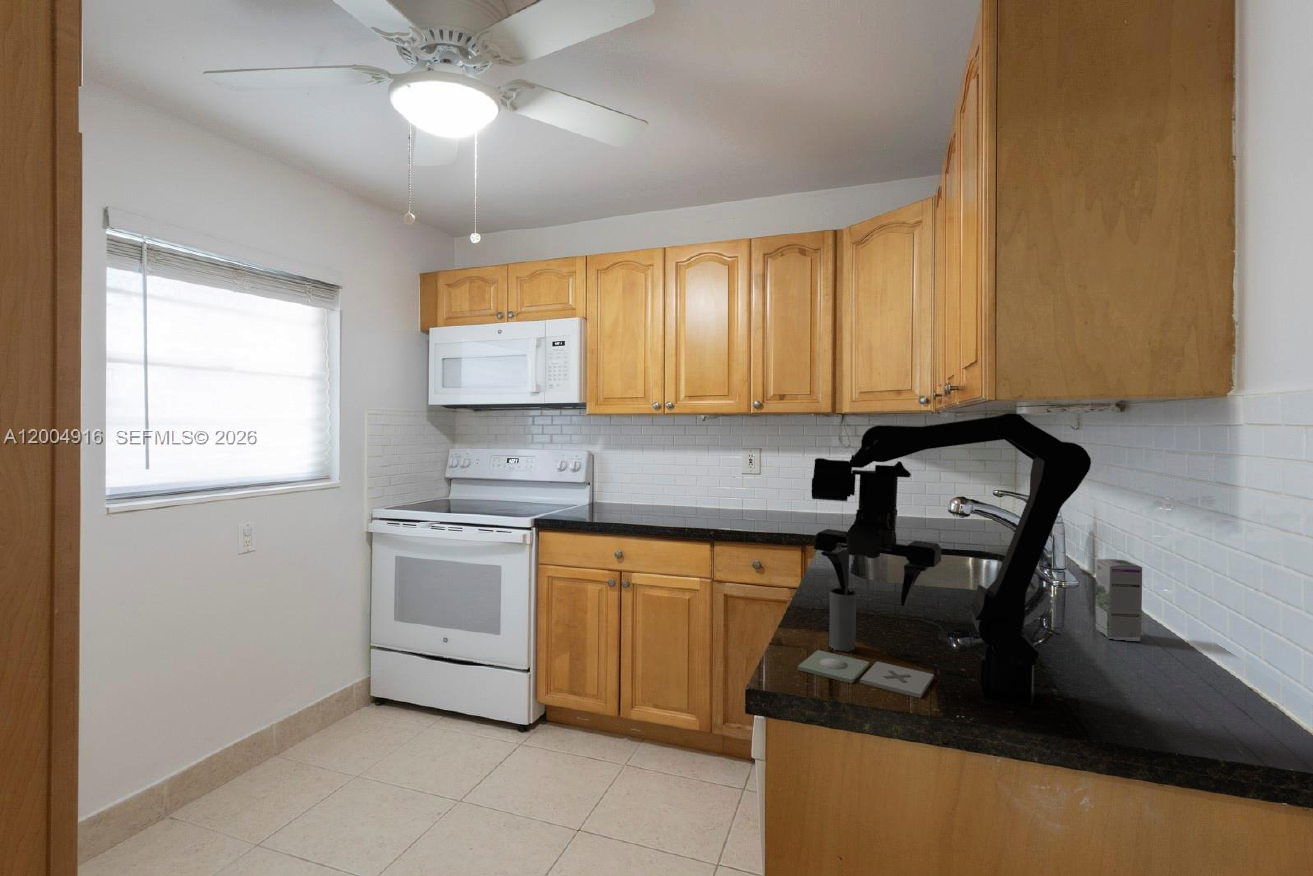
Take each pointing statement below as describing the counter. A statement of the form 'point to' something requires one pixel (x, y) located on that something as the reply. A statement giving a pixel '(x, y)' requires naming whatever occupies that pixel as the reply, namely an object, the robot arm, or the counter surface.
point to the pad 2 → (897, 679)
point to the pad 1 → (833, 666)
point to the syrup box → (1118, 598)
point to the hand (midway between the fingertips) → (873, 599)
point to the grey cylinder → (842, 620)
